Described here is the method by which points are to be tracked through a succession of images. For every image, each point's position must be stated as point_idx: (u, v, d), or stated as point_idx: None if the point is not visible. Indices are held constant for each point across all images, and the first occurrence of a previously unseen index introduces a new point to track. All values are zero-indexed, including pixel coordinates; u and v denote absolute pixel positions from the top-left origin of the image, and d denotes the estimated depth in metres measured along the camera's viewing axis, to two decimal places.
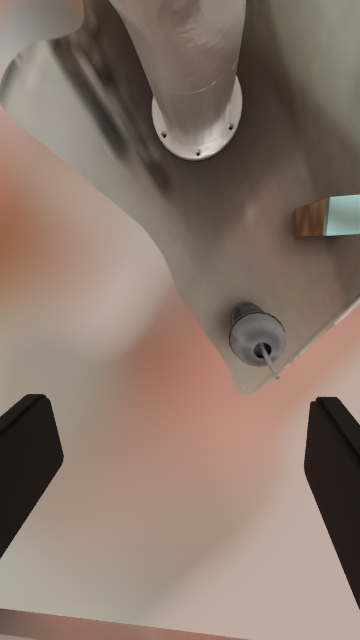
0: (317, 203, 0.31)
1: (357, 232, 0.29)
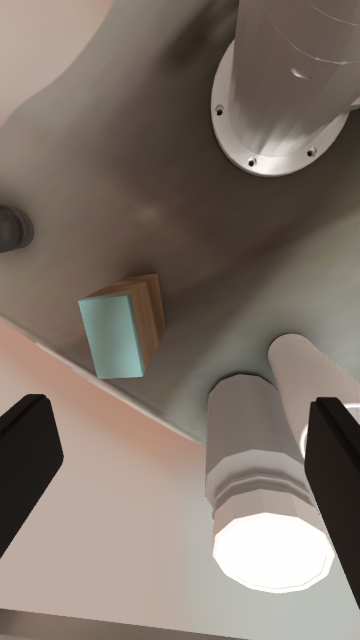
0: (136, 287, 0.23)
1: (89, 339, 0.21)
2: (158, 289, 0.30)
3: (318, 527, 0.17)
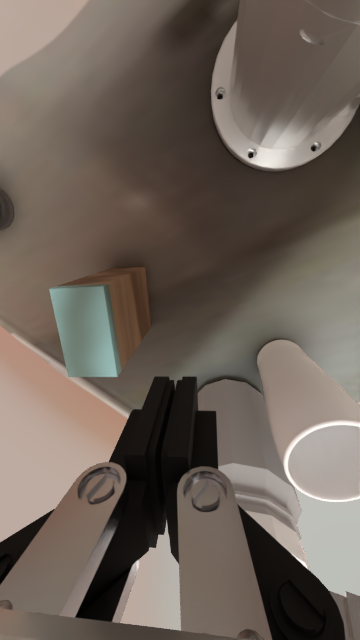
0: (117, 278, 0.21)
1: (60, 332, 0.19)
2: (145, 284, 0.29)
3: (299, 556, 0.16)
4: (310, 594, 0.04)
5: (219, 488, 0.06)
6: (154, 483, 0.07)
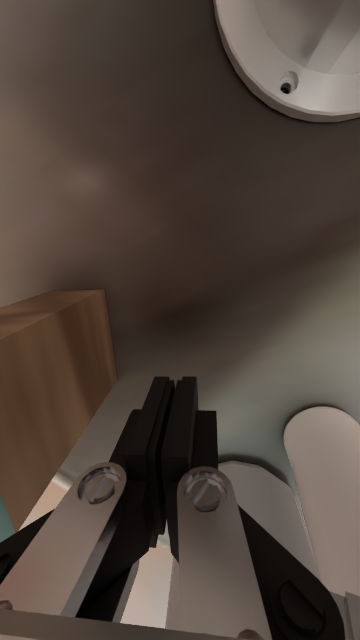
0: (9, 332, 0.10)
1: None
2: (102, 318, 0.17)
3: None
4: (310, 594, 0.04)
5: (219, 488, 0.06)
6: (154, 483, 0.07)
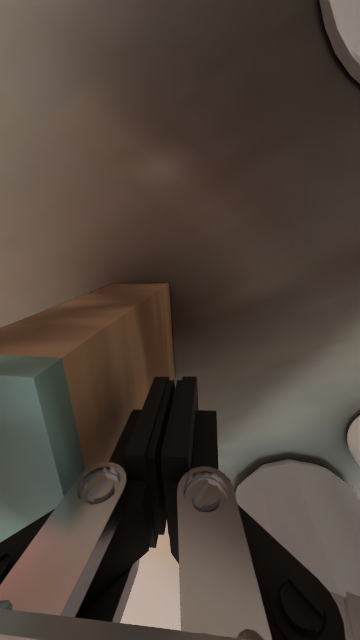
0: (100, 326, 0.09)
1: None
2: (166, 313, 0.16)
3: None
4: (310, 594, 0.04)
5: (219, 488, 0.06)
6: (154, 483, 0.07)
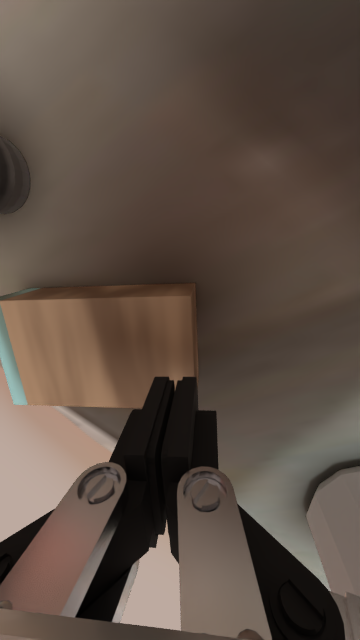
0: (41, 299, 0.15)
1: None
2: (173, 328, 0.14)
3: None
4: (310, 594, 0.04)
5: (219, 488, 0.06)
6: (154, 483, 0.07)
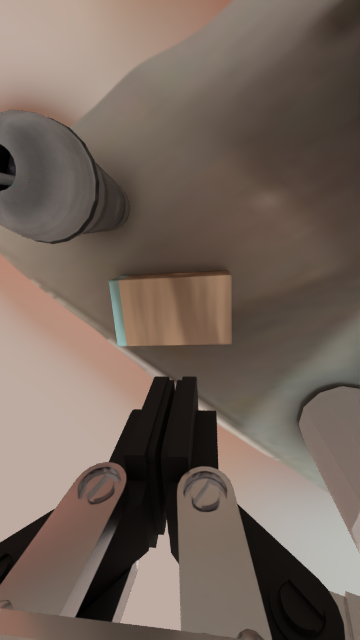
0: (143, 278, 0.25)
1: None
2: (220, 294, 0.25)
3: None
4: (310, 594, 0.04)
5: (219, 488, 0.06)
6: (154, 483, 0.07)
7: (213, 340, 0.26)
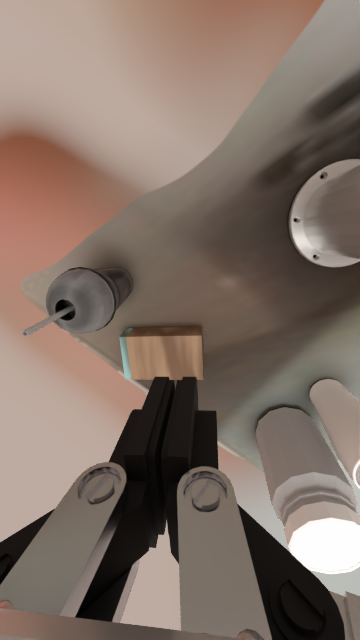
0: (142, 336, 0.37)
1: None
2: (194, 347, 0.37)
3: None
4: (310, 594, 0.04)
5: (219, 488, 0.06)
6: (154, 483, 0.07)
7: None
